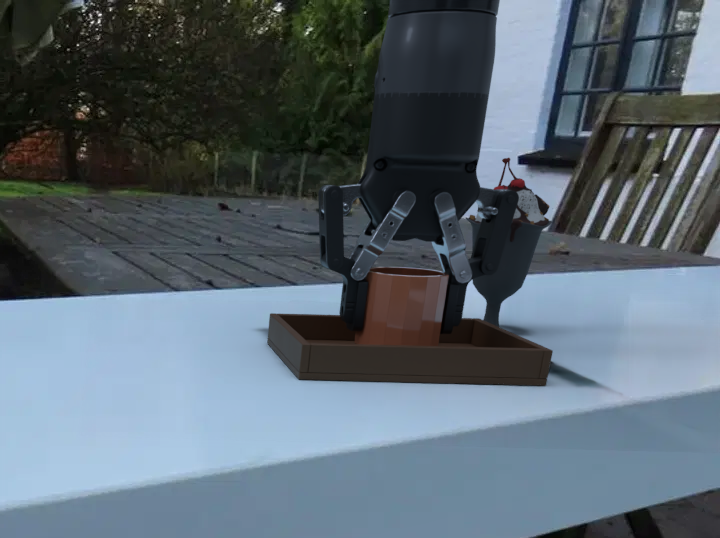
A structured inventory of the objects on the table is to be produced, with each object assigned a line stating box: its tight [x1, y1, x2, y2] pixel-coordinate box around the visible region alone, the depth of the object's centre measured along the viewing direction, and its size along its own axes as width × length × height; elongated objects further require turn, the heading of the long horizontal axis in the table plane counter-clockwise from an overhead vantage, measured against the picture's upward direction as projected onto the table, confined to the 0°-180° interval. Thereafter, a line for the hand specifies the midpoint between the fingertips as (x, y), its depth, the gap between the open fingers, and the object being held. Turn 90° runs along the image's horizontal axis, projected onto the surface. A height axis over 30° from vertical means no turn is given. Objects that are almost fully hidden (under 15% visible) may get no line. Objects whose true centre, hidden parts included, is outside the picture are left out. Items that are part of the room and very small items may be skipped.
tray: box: [267, 313, 554, 387], centre depth 70 cm, size 17×13×2 cm
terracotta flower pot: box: [354, 266, 450, 346], centre depth 69 cm, size 6×6×6 cm
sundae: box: [465, 157, 553, 327], centre depth 77 cm, size 7×7×15 cm
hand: (398, 330), depth 70 cm, fingers closed on terracotta flower pot, 6 cm apart
